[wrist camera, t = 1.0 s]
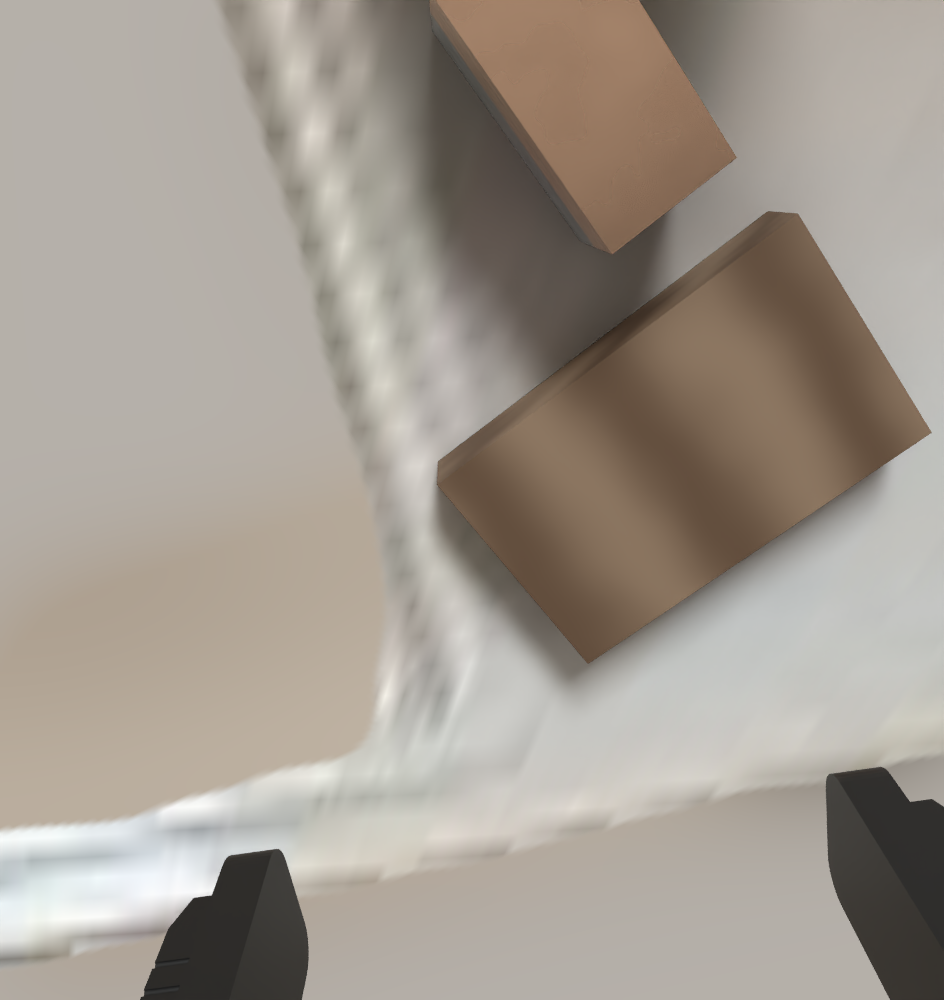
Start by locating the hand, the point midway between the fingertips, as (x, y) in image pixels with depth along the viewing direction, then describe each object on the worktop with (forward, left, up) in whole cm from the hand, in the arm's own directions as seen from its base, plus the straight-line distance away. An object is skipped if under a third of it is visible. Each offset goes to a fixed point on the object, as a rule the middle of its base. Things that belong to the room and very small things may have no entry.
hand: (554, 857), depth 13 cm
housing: (-10, -8, -24) cm, 27 cm away
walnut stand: (-5, +5, -24) cm, 25 cm away
